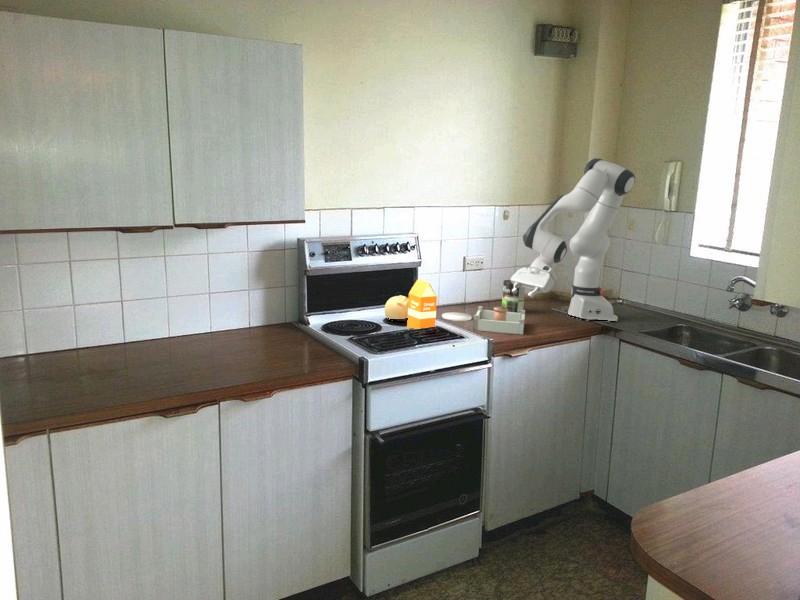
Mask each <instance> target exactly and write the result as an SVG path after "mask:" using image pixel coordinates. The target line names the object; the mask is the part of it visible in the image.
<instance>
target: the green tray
mask: <svg viewBox="0 0 800 600" xmlns="http://www.w3.org/2000/svg"><path fill="white" fill-rule="evenodd" d="M525 317H526V310H525V309H523V310H521V313H512V312H506V321H495V320H494V310H489V309H488V310H487V309H483V306H482V305H478V307H477V312H476V314H474V315H473V325H472V330H473V331H479V332H480V331H482V332H489V333H502V334H510V335H511V334H512V335H524V328H525Z"/></svg>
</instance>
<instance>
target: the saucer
mask: <svg viewBox="0 0 800 600" xmlns="http://www.w3.org/2000/svg"><path fill="white" fill-rule="evenodd" d="M441 317H442V319H444V320H447V321H452V322H469V321H471V320H472V319H473V316H472V315H471V314H469V313H465V312H458V311H457V312H456V311H455V312H453V311H452V312H451V311H450V312H443V313H442V314H441Z"/></svg>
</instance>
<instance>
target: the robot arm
mask: <svg viewBox="0 0 800 600" xmlns="http://www.w3.org/2000/svg"><path fill="white" fill-rule="evenodd" d="M635 175H636V174H635V173H633V172H632V171H631V170H630V169H628V168H627V169H626V168H625V167H623V166H621V165H618V164H617V163H612V162H611V161H610V162H609V161H607V160H604V159H601V158H592V159H590V160H589V161H588V162H587V163H586V165H585V166H584V170H583V176H582V177H581V178H580V180H579V181H578V182H577V184H576V185H575V187H574V188H573V189H572V190H571V191H570V192H568V193H567V194H562V195H560V196H558V197H557V198H556V199H555V200H554V201H553V202H552V203H551V204H550V205H549V206H548V207H547V208H546V209H545V210H544V212H543V213H542V214H541V215H540V216H539V217H538V218H537V219H536V221H534V222H533V223H532V224H531V225H530V226H529V227H528V228H527V229H526V230H525V231H524V234H523V235H522V240H523V244H524V245H525V247H526V248H529V249H531V250H534V251H535V252H537V253H539V254H538V256H537V257H536V258H535V259H534V260H533V262H531V264H530V265H529V267H526V266H524V267H521V268H519V269H518V270H517V271H516V272H515V273H513V274H512V276H511V277H510V280H511V282H512V283H513V285H514V288H513V289H512V292H513V293H515V294H516V293H517V292H518V290H517V288H519V286H520V287H524V288H525V289H530V290H533V291H529V292H528V294H527V296H528V297H529V298H532V299H533V298H534V296H536V295H537V294H539V293H540V292H542V293H548V292H550V291H551V289H552V288H553V286H554V285H555V282H556V281H557V280H558V276H557V275H556V273H555V271H554V268H555V267H556V266H557V265H558V264H559V263H560V262H562V260H563V258H564V257H565V256H566V254H567V251H568V247H567V246H568V245H567V243H566V241H565V240H564V239H563V238H561V237H559V236H557V235H555V234H554V233H551V232H550V231H548V230H547V229H546V228H545V227H546V226H547V225H548V224H549V223H550V222H551V221H552V220H553V219H554V218H555V216H557V215H558V214H560V213H571V214H580V215H581V214H587V213H588V212H589V213H588V214H587V217H586V218H585V220H584V222H583V223H582V224H581V226H580V227H579V229H578V231H577V232H576V233H574V234H575V235H573V237H571V239H570V240H569V249H570V251H571V252H572V254H574V255H575V256H578V257H580V258H579V260H578V262H577V264H576V266H575V268H574V276H573V277H574V278H573V283H572V286H571V293H570V296H571V299H570V303H569V307H568V310H567V312H568V314H569V315H572V316H576V317H580V318H587V319H598V320H608V321H607V322H610V321H616V322H618V320H619V319H618V316H617V315H616V314H614V308H613V305H612V303H611V302H610V301H608V299H606V298H605V297H604V296H603V295H604V294H605V290H604V289H602V287H599V283H600V275H601V269H602V265H603V262H604V259H605V256H606V253H607V251H608V250H609V248H610V246H611V239H610V237H609V235H608V234H606V233H607V231H608V230H609V229H610V228H611V226H612V225H613V223H614V221H615V219H616V216H617V214H618V212H619V210H620V207H621V205H622V202H623V198H624V195H627V194H629V193H630V192H631V190H632V189H633V188H634V186H635V183H636V176H635Z"/></svg>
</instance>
